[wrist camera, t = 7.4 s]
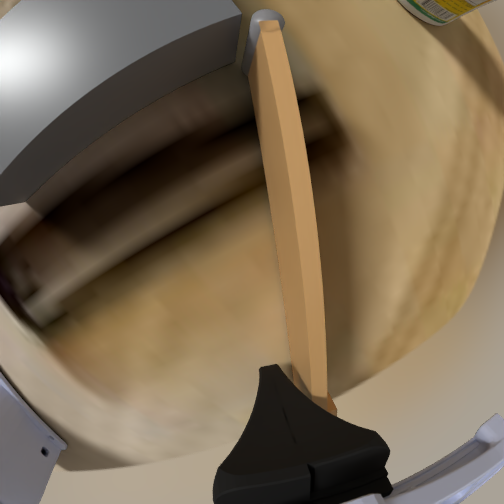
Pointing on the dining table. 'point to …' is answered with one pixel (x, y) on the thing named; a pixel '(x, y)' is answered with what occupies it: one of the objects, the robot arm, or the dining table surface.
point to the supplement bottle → (442, 9)
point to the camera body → (95, 73)
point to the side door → (289, 202)
